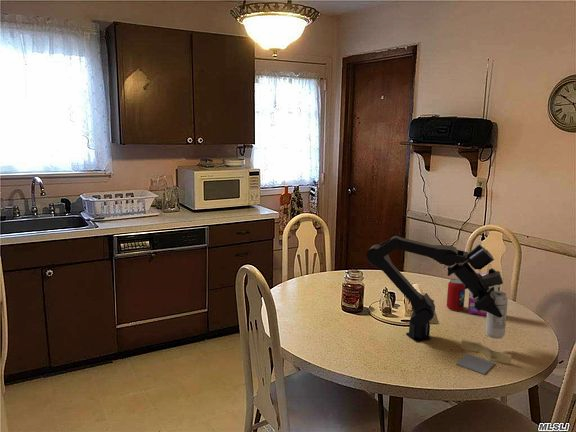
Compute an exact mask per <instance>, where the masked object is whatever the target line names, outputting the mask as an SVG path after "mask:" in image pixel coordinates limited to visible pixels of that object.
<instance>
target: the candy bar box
mask: <svg viewBox="0 0 576 432" xmlns="http://www.w3.org/2000/svg"><path fill="white" fill-rule="evenodd" d="M479 273H480V274H481V275H482V276H484V275H486V274H487V273H482V272H479ZM492 287H494V291H500V290H501V285H495V286H491V287H489V288H492ZM468 291H469V290H468ZM500 292H501V291H500ZM472 295H473V294H472V293H471V292H470V291H469V292H468V307H467V314H470V315H475V316H484V317H487V312H486V311H484V310H480V311H478V310H477V309H476V308H475V307H474V303H475V299H476V298H478V297H476V298H475V299H474V298H473V296H472Z"/></svg>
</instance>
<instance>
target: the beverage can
mask: <svg viewBox="0 0 576 432" xmlns="http://www.w3.org/2000/svg"><path fill="white" fill-rule="evenodd" d="M465 298H466V289H465V287H464V284H463V283H462V282H461V281H460V280H459V279H458V278H451V279H450V281H449V282H448V283H447V295H446V307H447V308H448V309H449V310H451V311H455V312H457V311H461V310H463V309H464V308H465V307H464V306H465Z"/></svg>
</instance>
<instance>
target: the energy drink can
mask: <svg viewBox="0 0 576 432" xmlns="http://www.w3.org/2000/svg"><path fill="white" fill-rule="evenodd" d="M490 293H491V294H492V295H493V297H494V296H495V302H494V303H495V304H496V306H497V307H498V309H499V311H500V312H501V314H502V315H503V316H502V317H501V318H499V317H497V316H495V315H493V314H491V313H489V312H487V316H486V318H485V319H486V321H485V322H486V323H485V333H486V335H487V336H488V337H489V338H492V339H494V340H495V339H502V338H503V337H504V336H505V335H506V324H507V311H508V297H507V293H506V292H503V291H491V292H490Z"/></svg>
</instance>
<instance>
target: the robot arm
mask: <svg viewBox="0 0 576 432" xmlns="http://www.w3.org/2000/svg"><path fill="white" fill-rule="evenodd" d="M395 250H400V251H403V252H407V253H412V254H416V255H419V256H424V257H428V258H430V259H432V260H434V261H435V262H437V263H439V264H441V265H444V266H447V276H448V277H450V276H451V275H453V274H454V276H456V278H457V279H459V280H460V281H461V282H462V283H463V284H464V287H465V290H468V291H470V292H471V293H472V294H473V295H472V296H473V298H474V299H475V298H476V297H478V298H476V299H475V303H474V307H475V308H476V309H477V310H478V311H480V310H484V311H486V312H489V313H491V314H493V315H495V316H497V317H499V318H501V317H502V316H503V315H502V314H501V312H500V311H499V309H498V307H497V306H496V304H495V303H494V302H495V296H494V297H493V295H492V294H491V293H490V292H491V291H494V287H492V288H489V287H491V286H495V285H500V286H501V285H503V283H504V282H503V281H504V280H503V277H502V275H501V272H500V271H498V270H496V269H494V268H489V269H488V272H487V273H485V274H486V275H484V276H482V275H481V274H480V273H481V272H476V271H475V270H480V271H481V270H483V268H485V267H486V266H488V265H489V264H490V263H492V262H493V261H495V258H494V257H493V255H492V253H490V251H489V250H488V249H486V248H485V247H484V246H482V245H481V244H480V243H478V244H477V245H476V246H475V248H473V249H471V250H470V251H465V250H461V249H457V247H455V246H454V245H448V244H430V243H426V242H423V241H421V242H420V241H417V240H413V239H409V238H405V237H401V236H399V235H394V236H392V237H391V238H389V239H387V240H385V241H382V243H380V244H374V245H371V247H370V248H369V249H368V250H367V251H366V256H365V257H366V261H368V263H369V264H370V265H372V266H373V267H375V268H376V269H378V270H380V271H381V272H383V273H384V274H385V275H386V276H387V278H388V279H389V280H390V281H391V282H392V284H394V285H395V286H396V288H397V289H398V290H399V291H400V292H401V293H402V295H404V297H405V298H406V299H407V300H408V301H409V303H410V305H411V308H412V313H411V315H410V318H409V328H408V332H406V333H405V335H406V336H408V337H409V338H410V339H412V340H413V341H414V342H416V343H417V342H422V341H429V340H432V337H431V336H430V335H431V334H430V332H431V331H430V330H431V323H430V321H431V320H432V319H434V316H435V312H436V305H435V303H434V302H435V300H434V299H432V298H431V297H430V295H429V294H428V293H427V292H426V293H425V292H424V294H422V293H421V292H419V291H418V290H417V289H416V288H415V287H414V285H412V283H410V281H409V280H408V278H406V277H405V275H403V273H402V272H401V271H400V270H399V268H397V267H396V266H395V264H394V263H393V262H392V260H391V257H390V255H389V254H391V253H392V252H394V251H395Z"/></svg>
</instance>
